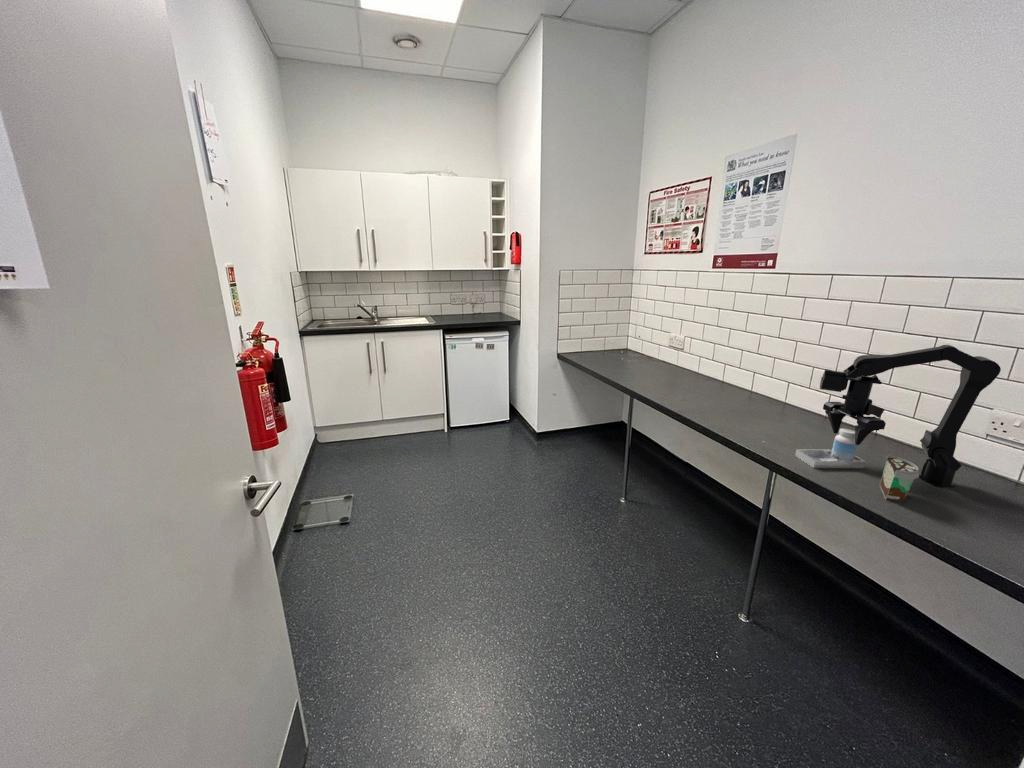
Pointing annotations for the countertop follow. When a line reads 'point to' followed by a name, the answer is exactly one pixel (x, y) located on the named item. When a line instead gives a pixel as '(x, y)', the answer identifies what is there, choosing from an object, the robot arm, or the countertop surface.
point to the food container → (897, 478)
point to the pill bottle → (844, 445)
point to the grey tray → (826, 459)
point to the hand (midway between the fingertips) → (846, 438)
